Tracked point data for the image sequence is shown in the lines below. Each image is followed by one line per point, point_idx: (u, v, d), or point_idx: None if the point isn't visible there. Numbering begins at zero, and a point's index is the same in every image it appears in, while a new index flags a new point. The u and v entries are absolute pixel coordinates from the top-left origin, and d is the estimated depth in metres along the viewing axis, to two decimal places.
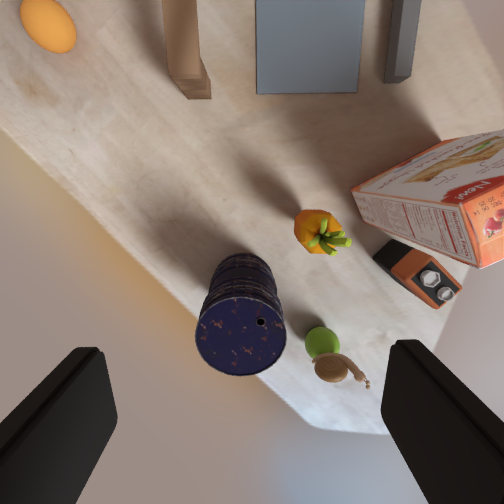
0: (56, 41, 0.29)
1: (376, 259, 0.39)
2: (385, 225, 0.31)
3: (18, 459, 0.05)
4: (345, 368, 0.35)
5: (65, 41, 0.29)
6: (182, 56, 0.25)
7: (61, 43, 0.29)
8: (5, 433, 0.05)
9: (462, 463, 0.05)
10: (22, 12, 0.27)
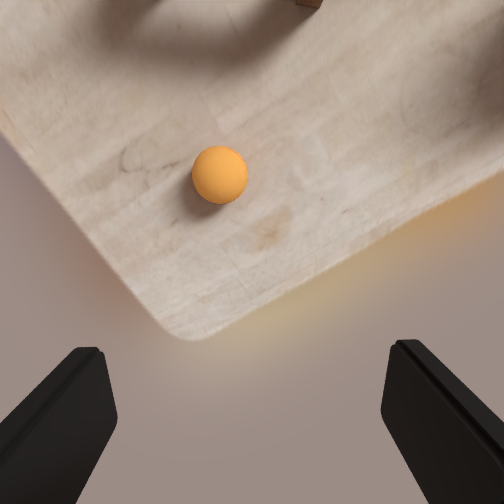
0: (243, 165, 0.22)
1: None
2: None
3: (18, 459, 0.05)
4: None
5: (241, 158, 0.22)
6: None
7: (243, 162, 0.22)
8: (5, 433, 0.05)
9: (462, 463, 0.05)
10: (215, 190, 0.22)
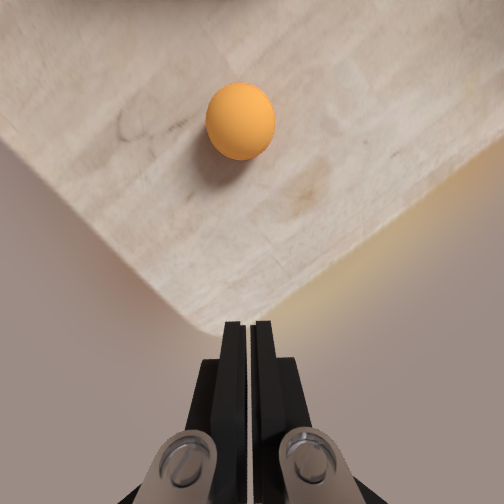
0: (269, 103, 0.17)
1: None
2: None
3: None
4: None
5: None
6: None
7: None
8: (229, 380, 0.06)
9: None
10: (238, 138, 0.17)
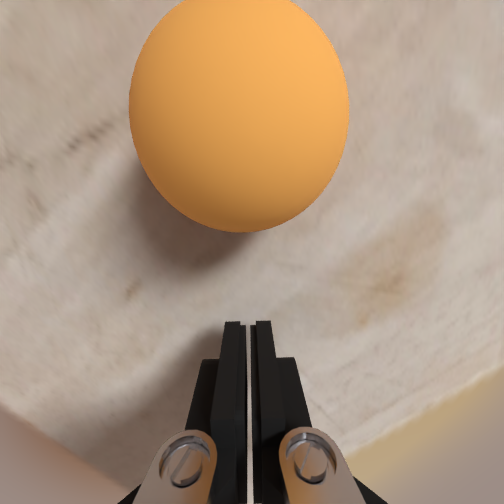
0: (338, 60, 0.05)
1: None
2: None
3: None
4: None
5: None
6: None
7: None
8: (229, 380, 0.06)
9: None
10: (233, 185, 0.05)
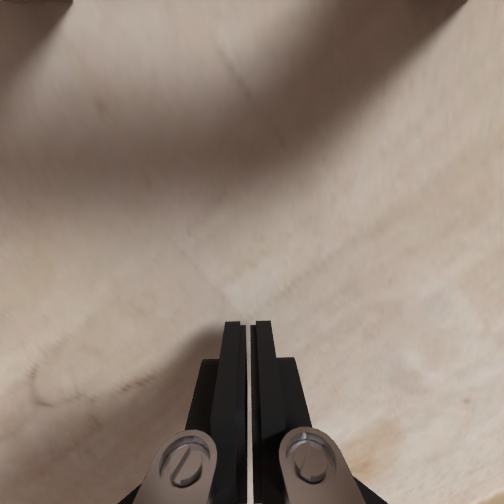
0: None
1: None
2: None
3: None
4: None
5: None
6: None
7: None
8: (229, 380, 0.06)
9: None
10: None
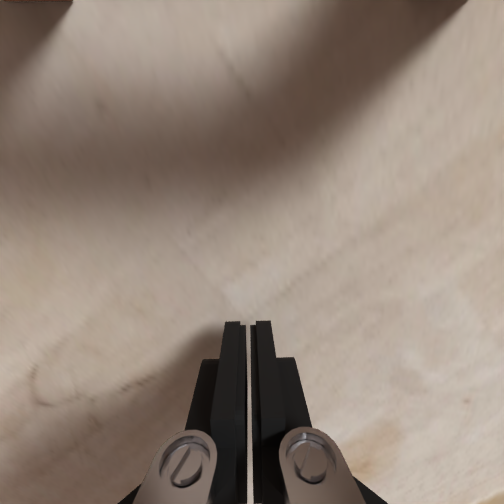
0: None
1: None
2: None
3: None
4: None
5: None
6: None
7: None
8: (229, 380, 0.06)
9: None
10: None
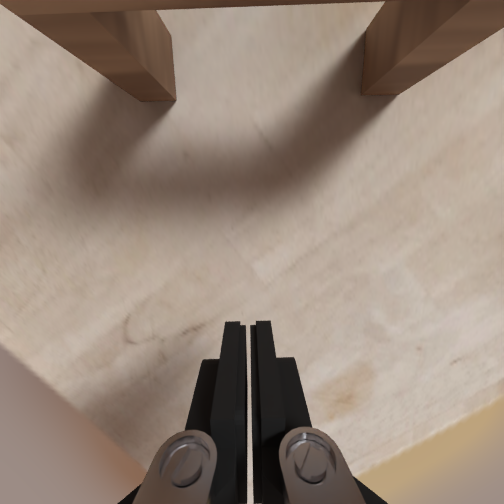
0: None
1: None
2: None
3: None
4: None
5: None
6: None
7: None
8: (229, 380, 0.06)
9: None
10: None
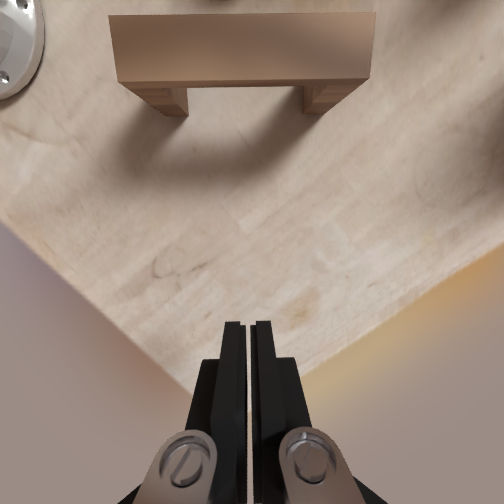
0: None
1: None
2: None
3: None
4: None
5: None
6: (344, 46, 0.14)
7: None
8: (229, 380, 0.06)
9: None
10: None
